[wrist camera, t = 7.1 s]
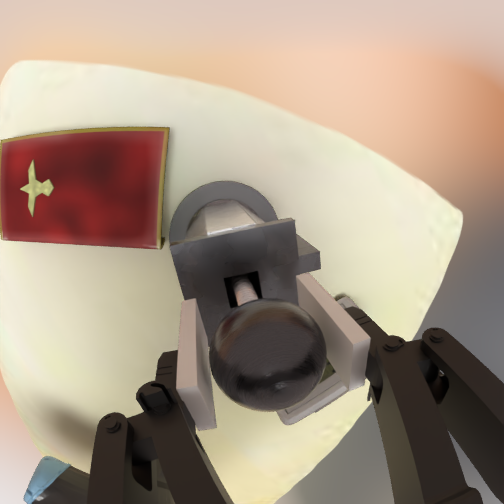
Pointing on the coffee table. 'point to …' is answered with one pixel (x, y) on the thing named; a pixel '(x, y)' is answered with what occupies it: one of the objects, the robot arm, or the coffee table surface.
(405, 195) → the coffee table surface
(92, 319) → the coffee table surface
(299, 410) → the digital clock
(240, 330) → the ball knob lever
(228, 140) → the coffee table surface
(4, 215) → the hardcover book
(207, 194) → the trivet
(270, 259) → the grey blocky piece
